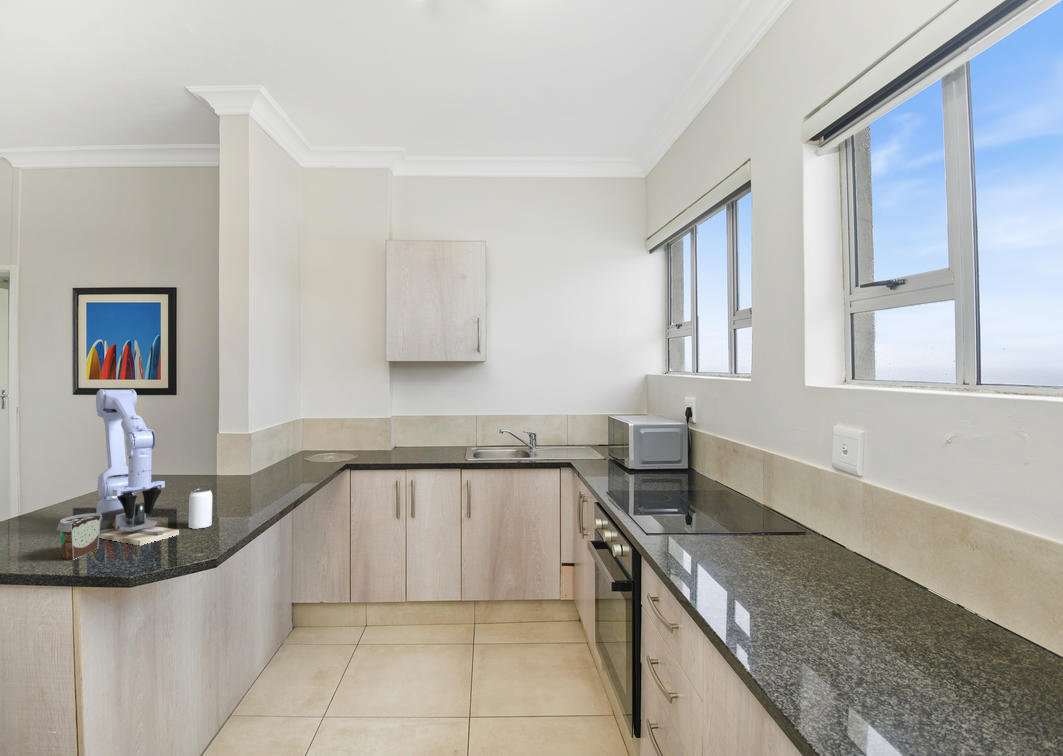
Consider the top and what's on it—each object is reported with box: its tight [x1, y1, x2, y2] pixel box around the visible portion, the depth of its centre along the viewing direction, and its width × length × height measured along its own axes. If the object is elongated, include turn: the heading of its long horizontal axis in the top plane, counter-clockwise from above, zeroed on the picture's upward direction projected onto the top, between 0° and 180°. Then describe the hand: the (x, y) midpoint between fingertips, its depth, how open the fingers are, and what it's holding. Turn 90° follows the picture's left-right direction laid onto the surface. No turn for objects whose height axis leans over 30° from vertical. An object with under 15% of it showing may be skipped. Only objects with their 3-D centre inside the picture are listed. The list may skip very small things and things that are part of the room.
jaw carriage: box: [116, 502, 158, 532], centre depth 167 cm, size 6×8×7 cm
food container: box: [56, 512, 102, 561], centre depth 149 cm, size 12×6×10 cm, turn 5°
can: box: [188, 487, 213, 530], centre depth 179 cm, size 6×6×12 cm
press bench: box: [99, 508, 180, 547], centre depth 167 cm, size 22×12×6 cm, turn 71°
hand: (139, 515), depth 167 cm, fingers open, 5 cm apart
